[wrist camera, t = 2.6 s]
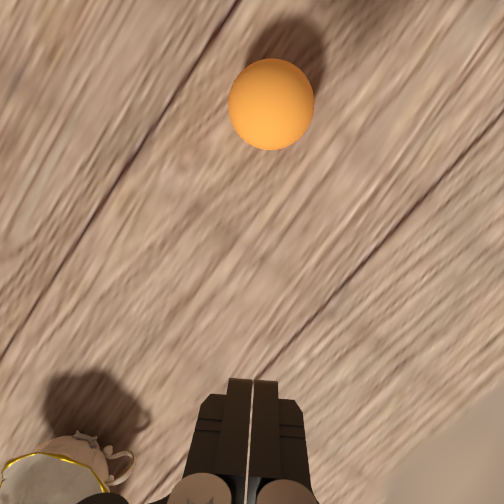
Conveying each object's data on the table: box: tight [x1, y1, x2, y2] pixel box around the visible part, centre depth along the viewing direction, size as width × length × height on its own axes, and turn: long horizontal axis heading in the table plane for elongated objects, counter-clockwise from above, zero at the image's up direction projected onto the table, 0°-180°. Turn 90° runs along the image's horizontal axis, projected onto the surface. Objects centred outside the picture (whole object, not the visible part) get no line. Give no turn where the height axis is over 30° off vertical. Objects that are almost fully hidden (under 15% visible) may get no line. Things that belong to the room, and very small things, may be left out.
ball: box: [228, 58, 314, 150], centre depth 23 cm, size 5×5×5 cm
